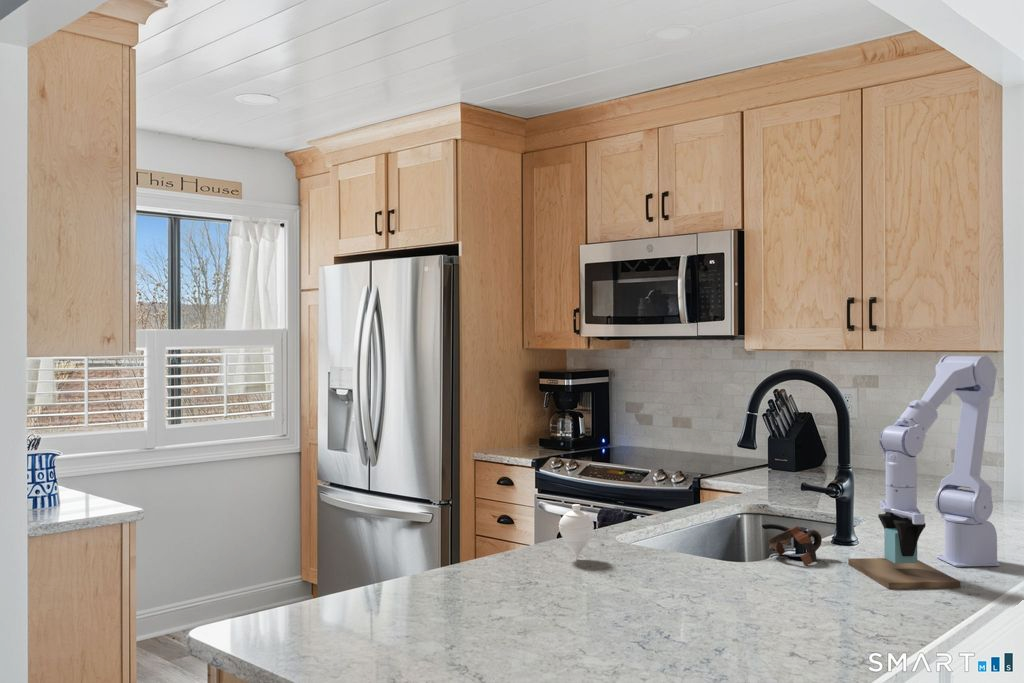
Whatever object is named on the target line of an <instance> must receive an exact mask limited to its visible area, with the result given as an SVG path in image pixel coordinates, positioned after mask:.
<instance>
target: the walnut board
mask: <svg viewBox="0 0 1024 683" xmlns="http://www.w3.org/2000/svg"><path fill="white" fill-rule="evenodd" d="M847 561H848V565H849V566H850V567H852V568H854V569H855V570H857V571H858V572H860V573H862V574H863V575H865V576H867V577H868V578H870V579H872V580H873V581H874V582H876V583H878V584H880V585H882V586H883V587H885V588H886V589H888V590H905V589H906V590H907V589H909V588H910V589H909V590H911V589H912V590H915V589H914V588H918V590H919V588H921V589H958V588H959V589H961V587H962V586H961V581H960V580H958V579H957V578H955V577H953V576H951V575H949V574H947V573H945V572H942V571H941V570H939V569H937V568H935V567H932V566H931V565H929V564H926V563H924V562H923V561H921V560H919V559H917V563H893V562H892V561H890V560H888V559H886V558H885V557H880V558H879V557H874V558H873V557H872V558H867V557H866V558H865V557H863V558H861V557H860V558H848V560H847Z"/></svg>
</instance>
